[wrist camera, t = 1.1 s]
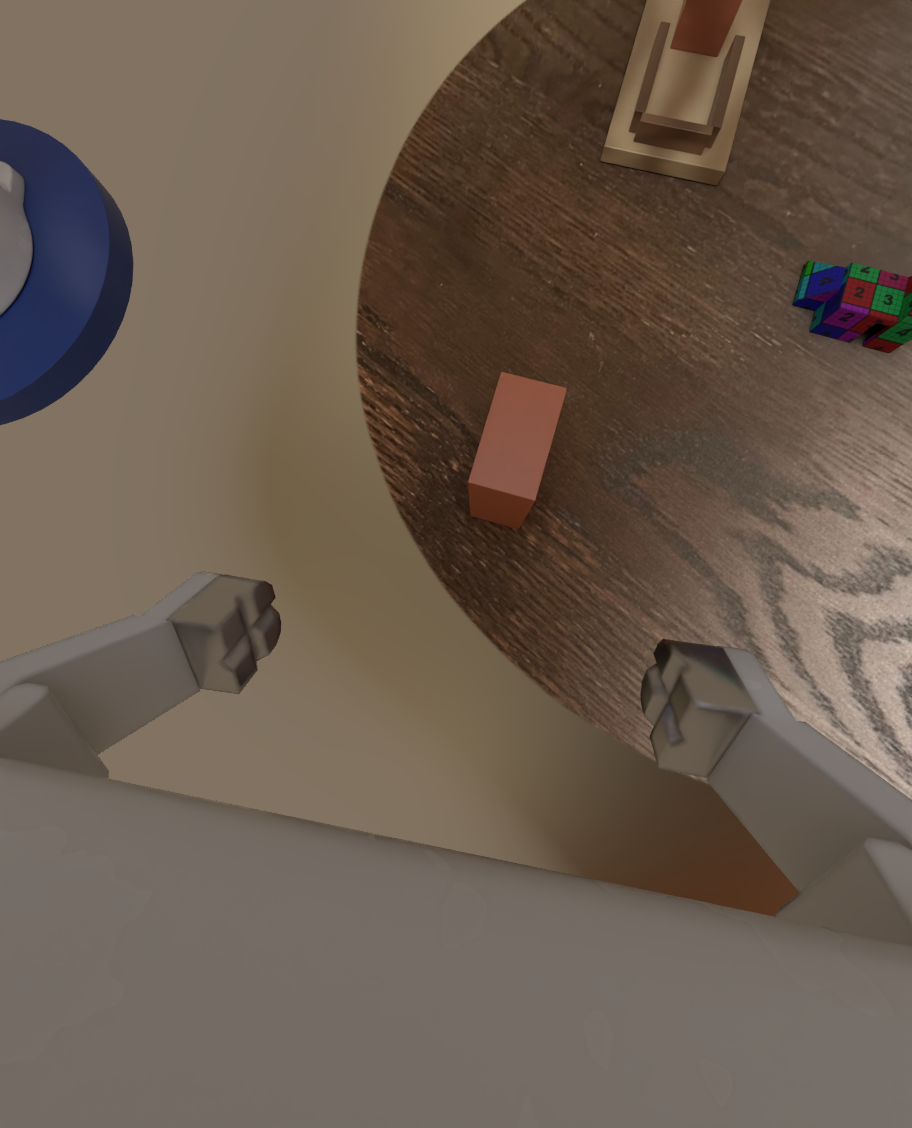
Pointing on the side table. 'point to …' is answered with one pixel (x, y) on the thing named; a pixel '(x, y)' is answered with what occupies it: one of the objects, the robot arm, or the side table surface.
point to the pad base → (685, 87)
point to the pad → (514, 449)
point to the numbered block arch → (857, 303)
